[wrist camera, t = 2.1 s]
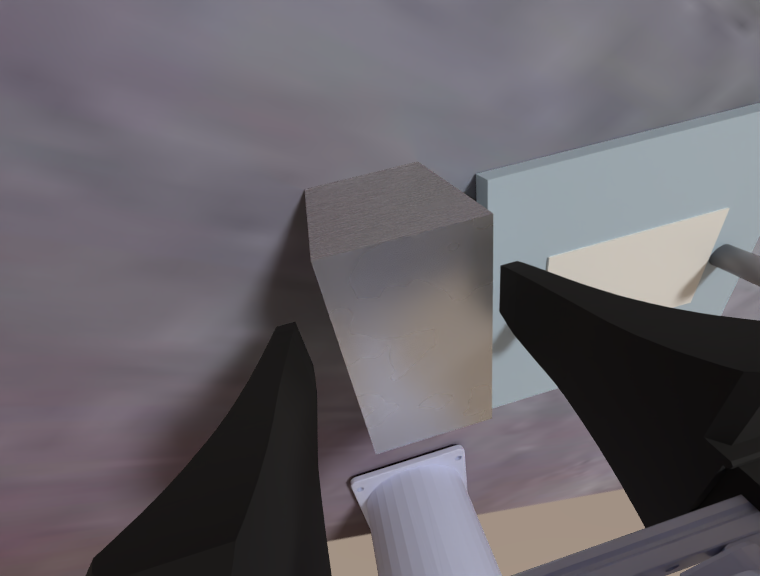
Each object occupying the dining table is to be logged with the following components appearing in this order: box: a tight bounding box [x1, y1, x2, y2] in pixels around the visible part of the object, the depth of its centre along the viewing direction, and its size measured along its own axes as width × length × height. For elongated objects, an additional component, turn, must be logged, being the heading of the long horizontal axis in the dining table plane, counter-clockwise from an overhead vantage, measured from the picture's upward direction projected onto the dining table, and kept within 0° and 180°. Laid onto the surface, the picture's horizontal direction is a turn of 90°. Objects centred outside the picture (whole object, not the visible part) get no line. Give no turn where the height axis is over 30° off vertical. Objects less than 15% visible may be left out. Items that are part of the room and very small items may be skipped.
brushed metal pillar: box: [305, 162, 494, 454], centre depth 13 cm, size 4×8×6 cm, turn 10°
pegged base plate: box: [476, 103, 760, 408], centre depth 17 cm, size 14×15×4 cm
